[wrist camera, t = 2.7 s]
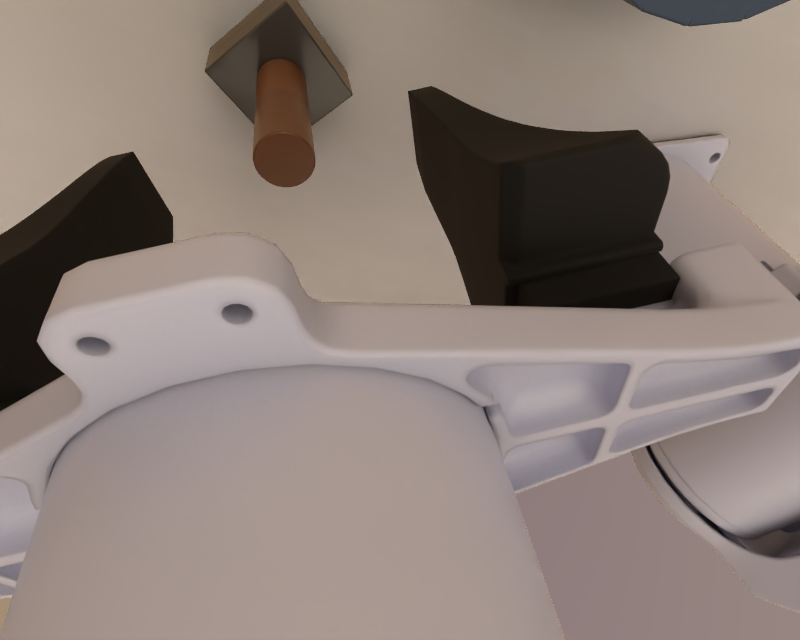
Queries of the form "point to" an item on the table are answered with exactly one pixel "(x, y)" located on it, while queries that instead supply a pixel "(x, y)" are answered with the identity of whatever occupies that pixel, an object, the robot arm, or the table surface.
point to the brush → (280, 85)
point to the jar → (704, 10)
